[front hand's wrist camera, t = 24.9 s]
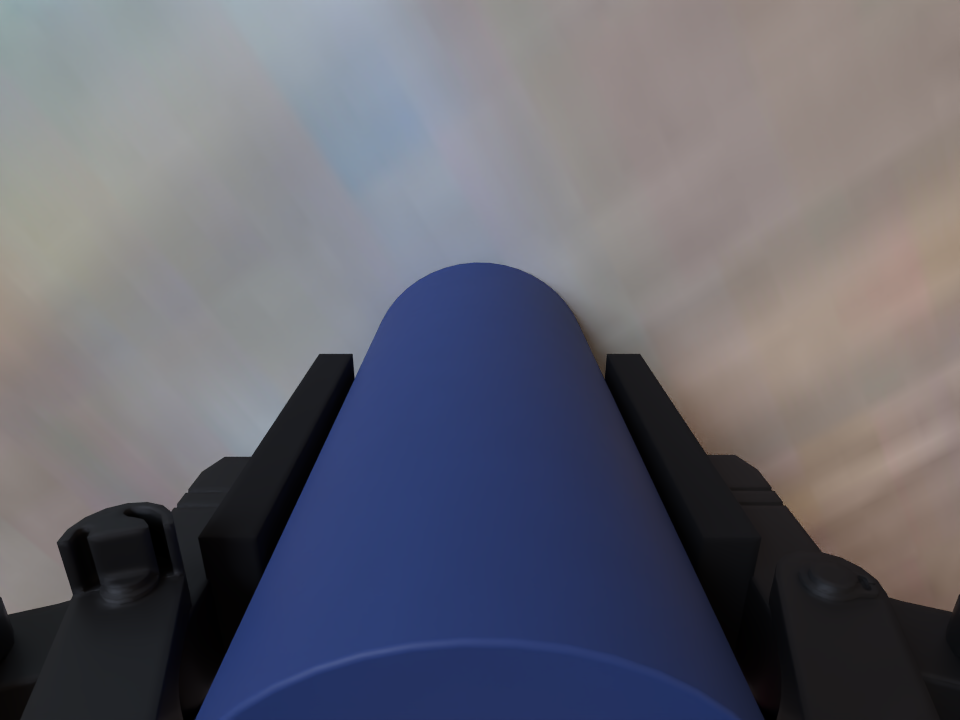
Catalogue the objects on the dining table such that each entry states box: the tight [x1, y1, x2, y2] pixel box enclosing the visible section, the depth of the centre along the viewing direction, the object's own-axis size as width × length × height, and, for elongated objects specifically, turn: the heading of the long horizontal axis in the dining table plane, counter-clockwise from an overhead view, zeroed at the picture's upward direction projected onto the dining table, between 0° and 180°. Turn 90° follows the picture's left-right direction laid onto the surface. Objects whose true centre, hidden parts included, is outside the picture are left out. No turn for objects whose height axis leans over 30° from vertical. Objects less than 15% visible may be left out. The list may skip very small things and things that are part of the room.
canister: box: [195, 263, 765, 720], centre depth 11 cm, size 6×6×12 cm
